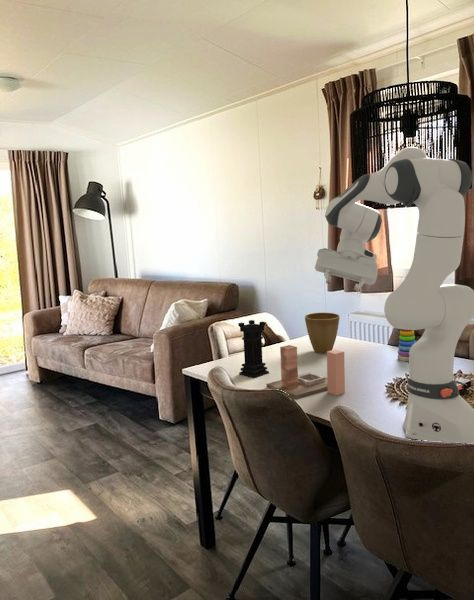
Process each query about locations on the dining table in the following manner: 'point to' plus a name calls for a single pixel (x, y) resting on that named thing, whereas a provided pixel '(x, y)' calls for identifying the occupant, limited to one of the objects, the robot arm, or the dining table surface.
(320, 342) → the plant pot
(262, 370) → the chess piece
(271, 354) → the dining table surface
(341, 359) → the loose pillar
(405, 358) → the stacking toy
